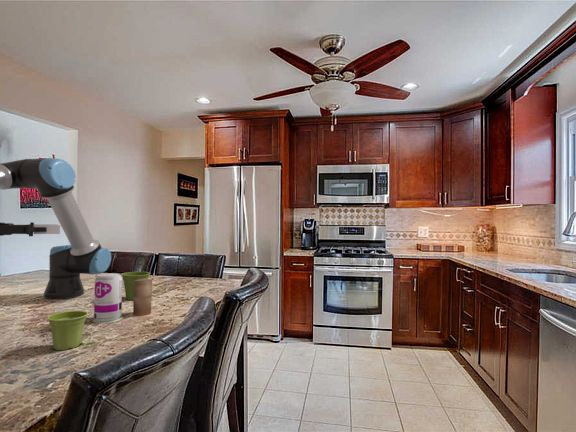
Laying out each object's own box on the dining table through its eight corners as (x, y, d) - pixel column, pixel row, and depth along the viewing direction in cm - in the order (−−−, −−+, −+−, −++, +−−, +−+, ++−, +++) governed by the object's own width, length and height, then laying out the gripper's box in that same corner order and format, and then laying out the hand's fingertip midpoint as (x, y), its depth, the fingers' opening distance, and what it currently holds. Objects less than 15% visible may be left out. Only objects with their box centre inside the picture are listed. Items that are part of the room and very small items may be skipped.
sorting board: (89, 318, 115) (89, 315, 115) (149, 310, 127) (149, 306, 127) (96, 331, 102) (96, 327, 102) (161, 320, 115) (161, 316, 115)
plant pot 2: (142, 302, 139) (143, 275, 140) (115, 301, 140) (115, 275, 140) (154, 295, 151) (154, 271, 151) (129, 295, 152) (129, 271, 152)
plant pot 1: (59, 340, 95) (60, 310, 95) (93, 339, 95) (94, 310, 96) (38, 353, 85) (38, 320, 85) (75, 352, 86) (76, 319, 86)
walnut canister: (131, 312, 119) (132, 279, 119) (148, 310, 122) (149, 278, 123) (135, 316, 114) (136, 282, 114) (153, 314, 118) (153, 280, 118)
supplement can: (109, 323, 107) (110, 277, 107) (88, 321, 108) (89, 276, 109) (126, 316, 115) (127, 273, 115) (106, 314, 116) (107, 272, 117)
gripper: (-25, 239, 104) (56, 238, 117) (-40, 244, 84) (60, 242, 97) (-24, 216, 104) (57, 217, 117) (-39, 216, 85) (61, 217, 97)
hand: (59, 228), depth 107 cm, fingers open, 13 cm apart
